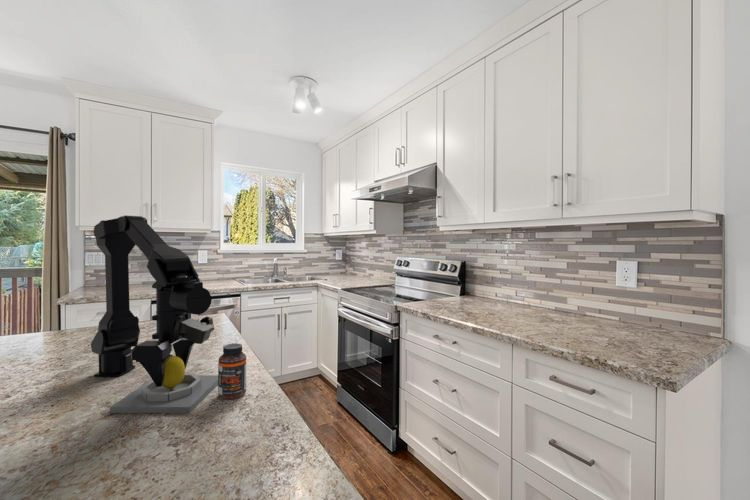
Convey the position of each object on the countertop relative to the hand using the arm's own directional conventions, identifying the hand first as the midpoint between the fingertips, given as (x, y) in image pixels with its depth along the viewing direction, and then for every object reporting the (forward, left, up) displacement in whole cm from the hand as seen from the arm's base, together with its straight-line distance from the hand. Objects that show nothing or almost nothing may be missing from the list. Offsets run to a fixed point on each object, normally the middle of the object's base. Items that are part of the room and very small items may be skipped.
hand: (172, 377), depth 77 cm
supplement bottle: (+14, 0, -4) cm, 14 cm away
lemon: (0, 0, -3) cm, 3 cm away
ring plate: (0, 0, -4) cm, 4 cm away
